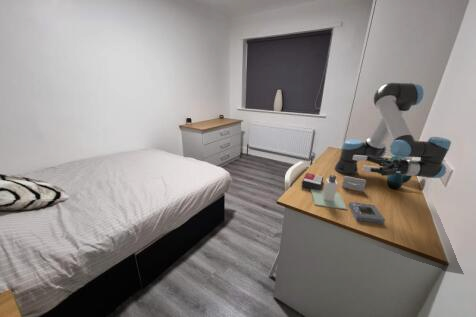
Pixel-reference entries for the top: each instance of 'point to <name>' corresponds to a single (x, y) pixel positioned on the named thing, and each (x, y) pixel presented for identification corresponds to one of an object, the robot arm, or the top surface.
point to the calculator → (312, 181)
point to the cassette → (358, 186)
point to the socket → (359, 216)
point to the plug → (330, 188)
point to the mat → (321, 202)
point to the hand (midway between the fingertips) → (357, 162)
